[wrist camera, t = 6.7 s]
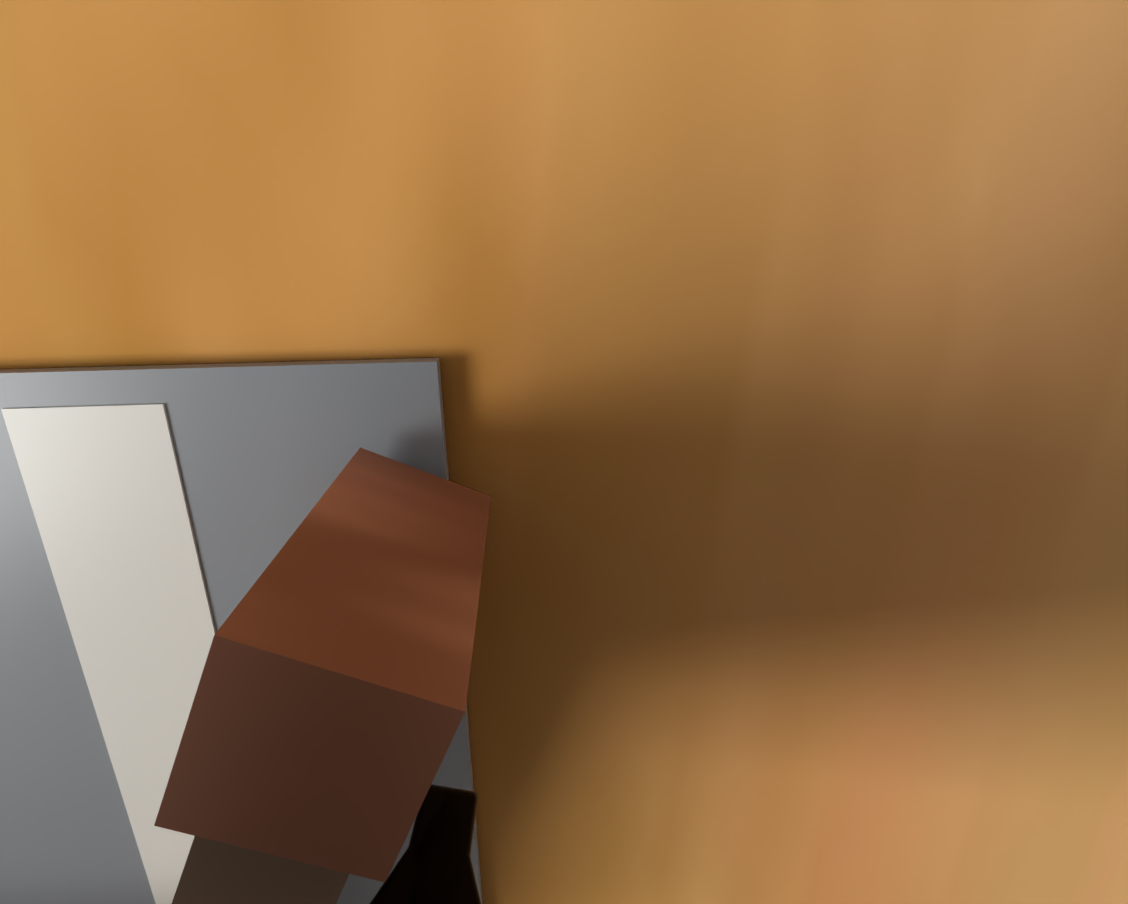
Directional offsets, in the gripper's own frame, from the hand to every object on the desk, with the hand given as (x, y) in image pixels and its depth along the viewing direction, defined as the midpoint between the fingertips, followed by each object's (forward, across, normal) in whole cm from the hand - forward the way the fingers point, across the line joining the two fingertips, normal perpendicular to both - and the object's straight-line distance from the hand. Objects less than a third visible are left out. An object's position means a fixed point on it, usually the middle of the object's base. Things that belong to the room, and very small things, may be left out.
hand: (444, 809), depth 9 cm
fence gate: (+2, +2, +1) cm, 3 cm away
